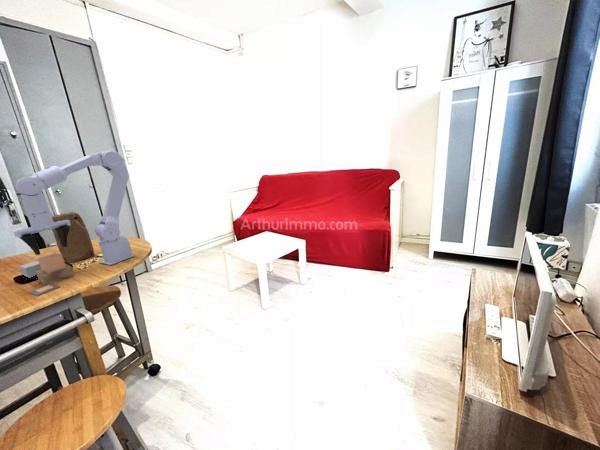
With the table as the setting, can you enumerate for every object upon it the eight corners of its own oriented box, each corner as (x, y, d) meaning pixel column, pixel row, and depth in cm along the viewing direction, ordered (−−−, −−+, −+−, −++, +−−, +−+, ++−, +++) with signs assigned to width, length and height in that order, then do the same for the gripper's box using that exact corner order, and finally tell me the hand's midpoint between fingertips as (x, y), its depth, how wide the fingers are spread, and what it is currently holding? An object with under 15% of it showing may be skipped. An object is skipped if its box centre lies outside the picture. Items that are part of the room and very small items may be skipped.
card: (51, 284, 90) (51, 282, 90) (60, 287, 88) (59, 285, 88) (28, 292, 85) (28, 291, 85) (37, 296, 83) (36, 294, 83)
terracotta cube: (59, 265, 97) (55, 252, 96) (65, 267, 95) (61, 254, 93) (41, 271, 93) (37, 258, 91) (48, 273, 90) (43, 259, 89)
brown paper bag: (62, 265, 107) (46, 217, 102) (64, 259, 113) (49, 214, 108) (95, 257, 113) (81, 212, 108) (95, 252, 119) (82, 209, 114)
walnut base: (67, 272, 100) (63, 262, 99) (74, 276, 96) (71, 266, 95) (39, 281, 94) (35, 271, 93) (46, 286, 90) (42, 276, 89)
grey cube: (41, 272, 101) (37, 260, 100) (47, 274, 99) (43, 262, 98) (24, 278, 97) (19, 266, 96) (30, 280, 95) (25, 268, 93)
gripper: (14, 219, 82) (29, 259, 85) (69, 208, 94) (81, 244, 98) (5, 218, 85) (20, 257, 88) (60, 207, 97) (71, 242, 101)
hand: (51, 250), depth 93 cm, fingers open, 7 cm apart
